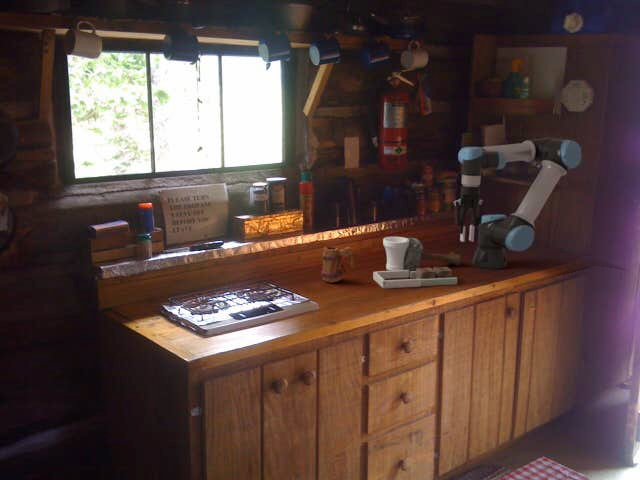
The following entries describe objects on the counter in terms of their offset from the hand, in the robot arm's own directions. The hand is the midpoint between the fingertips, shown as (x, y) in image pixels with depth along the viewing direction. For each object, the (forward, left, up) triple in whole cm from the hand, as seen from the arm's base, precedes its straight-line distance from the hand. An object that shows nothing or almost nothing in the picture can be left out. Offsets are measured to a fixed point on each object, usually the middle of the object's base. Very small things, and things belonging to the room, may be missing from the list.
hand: (466, 240), depth 290 cm
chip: (+10, 0, -17) cm, 20 cm away
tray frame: (+30, 0, -17) cm, 34 cm away
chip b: (+18, 0, -17) cm, 24 cm away
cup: (+25, -16, -17) cm, 34 cm away
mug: (+54, -5, -17) cm, 57 cm away
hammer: (+8, -18, -17) cm, 26 cm away
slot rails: (+14, 0, -17) cm, 22 cm away
